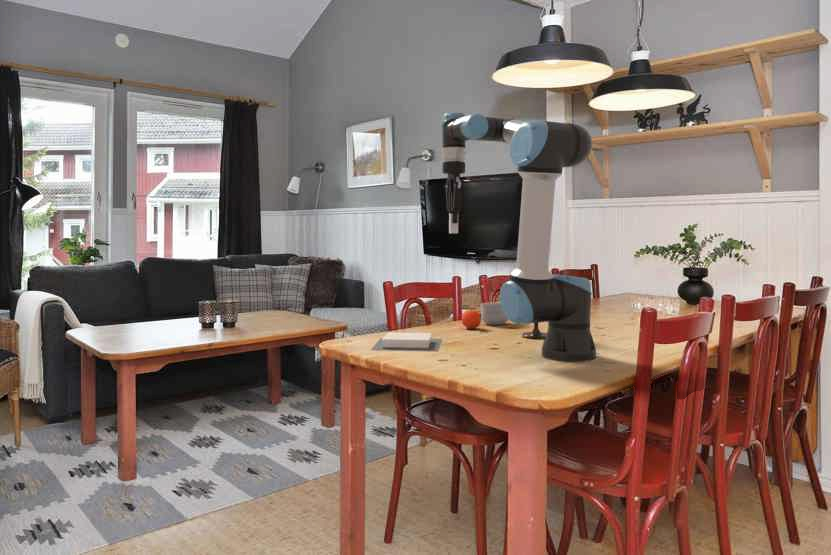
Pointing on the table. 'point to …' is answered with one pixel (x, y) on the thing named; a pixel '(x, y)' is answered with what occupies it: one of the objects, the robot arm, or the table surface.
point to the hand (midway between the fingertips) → (453, 233)
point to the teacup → (493, 313)
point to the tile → (407, 340)
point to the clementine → (471, 319)
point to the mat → (433, 347)
